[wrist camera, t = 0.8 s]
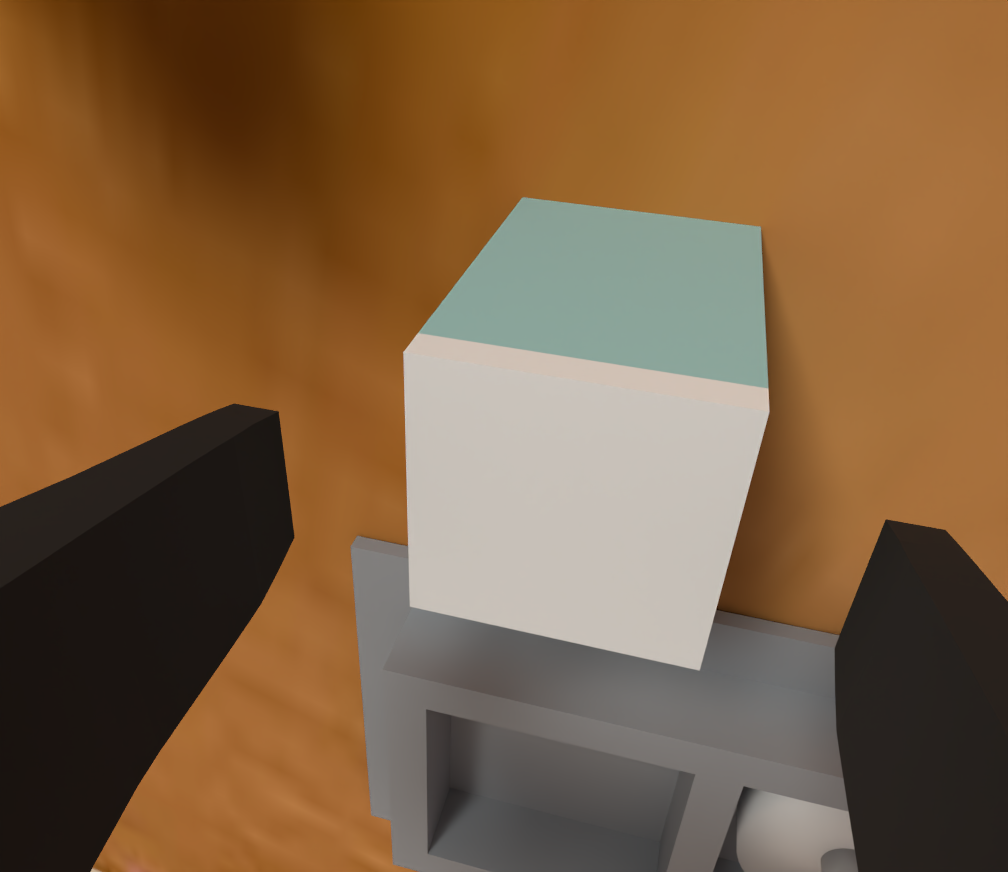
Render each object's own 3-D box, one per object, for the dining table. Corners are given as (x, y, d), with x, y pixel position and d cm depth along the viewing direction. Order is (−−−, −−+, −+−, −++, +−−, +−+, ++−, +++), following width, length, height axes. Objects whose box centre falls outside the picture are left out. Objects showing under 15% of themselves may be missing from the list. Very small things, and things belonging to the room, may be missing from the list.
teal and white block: (760, 226, 13) (769, 411, 8) (714, 430, 16) (699, 670, 11) (523, 196, 14) (403, 352, 9) (511, 395, 16) (410, 606, 11)
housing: (1206, 711, 16) (1284, 843, 14) (994, 968, 22) (1023, 1090, 20) (357, 535, 19) (305, 620, 17) (376, 803, 25) (340, 891, 23)
